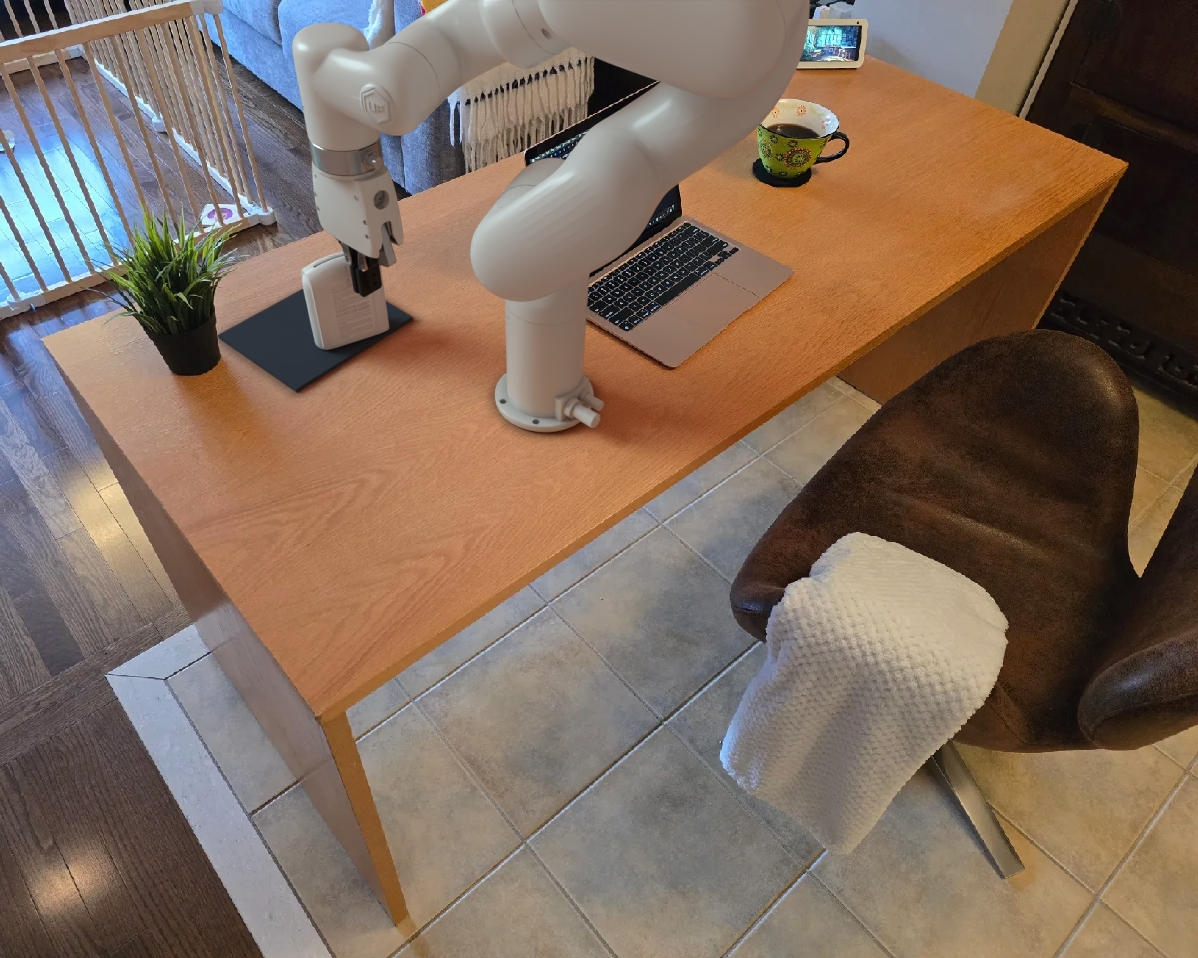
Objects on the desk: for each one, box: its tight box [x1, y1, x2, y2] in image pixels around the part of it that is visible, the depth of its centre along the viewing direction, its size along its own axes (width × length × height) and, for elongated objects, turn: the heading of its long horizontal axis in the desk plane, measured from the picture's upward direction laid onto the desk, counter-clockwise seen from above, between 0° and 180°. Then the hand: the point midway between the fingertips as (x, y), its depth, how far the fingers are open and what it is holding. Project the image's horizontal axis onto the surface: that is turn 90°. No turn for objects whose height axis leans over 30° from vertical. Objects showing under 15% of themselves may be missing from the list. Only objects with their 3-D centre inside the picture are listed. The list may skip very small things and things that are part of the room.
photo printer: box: [300, 251, 389, 350], centre depth 113 cm, size 10×4×12 cm, turn 124°
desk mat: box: [217, 288, 414, 393], centre depth 119 cm, size 16×20×1 cm
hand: (368, 289), depth 108 cm, fingers closed
